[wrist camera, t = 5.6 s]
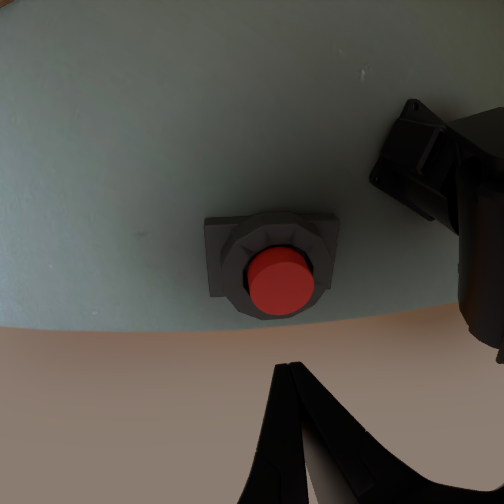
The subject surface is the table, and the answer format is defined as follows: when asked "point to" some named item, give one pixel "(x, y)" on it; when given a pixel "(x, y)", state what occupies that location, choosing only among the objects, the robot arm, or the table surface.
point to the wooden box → (4, 2)
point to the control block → (259, 239)
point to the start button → (279, 281)
